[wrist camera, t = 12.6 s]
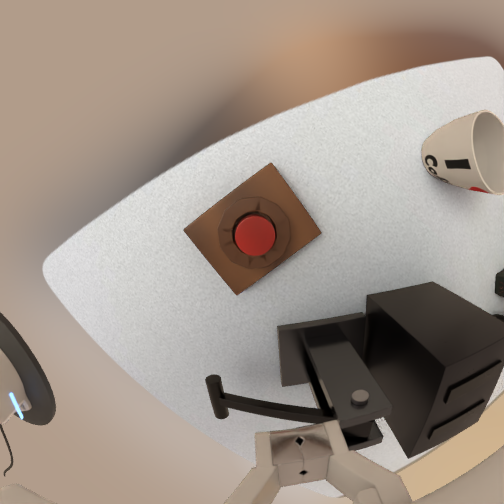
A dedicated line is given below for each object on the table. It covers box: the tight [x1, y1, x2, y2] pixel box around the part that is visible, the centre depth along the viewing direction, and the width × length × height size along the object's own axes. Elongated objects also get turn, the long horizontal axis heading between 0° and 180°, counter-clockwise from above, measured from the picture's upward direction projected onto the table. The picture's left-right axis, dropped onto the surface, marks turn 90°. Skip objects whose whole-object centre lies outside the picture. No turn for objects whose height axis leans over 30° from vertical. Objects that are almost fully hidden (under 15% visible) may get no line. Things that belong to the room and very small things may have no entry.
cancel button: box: [235, 214, 275, 256], centre depth 23 cm, size 3×3×2 cm
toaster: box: [362, 282, 504, 459], centre depth 23 cm, size 10×12×15 cm
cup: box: [422, 110, 504, 195], centre depth 21 cm, size 8×8×10 cm
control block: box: [184, 163, 321, 295], centre depth 25 cm, size 10×8×4 cm
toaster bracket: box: [277, 312, 393, 451], centre depth 23 cm, size 10×8×14 cm
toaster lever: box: [205, 375, 373, 437], centre depth 21 cm, size 15×5×2 cm, turn 96°
